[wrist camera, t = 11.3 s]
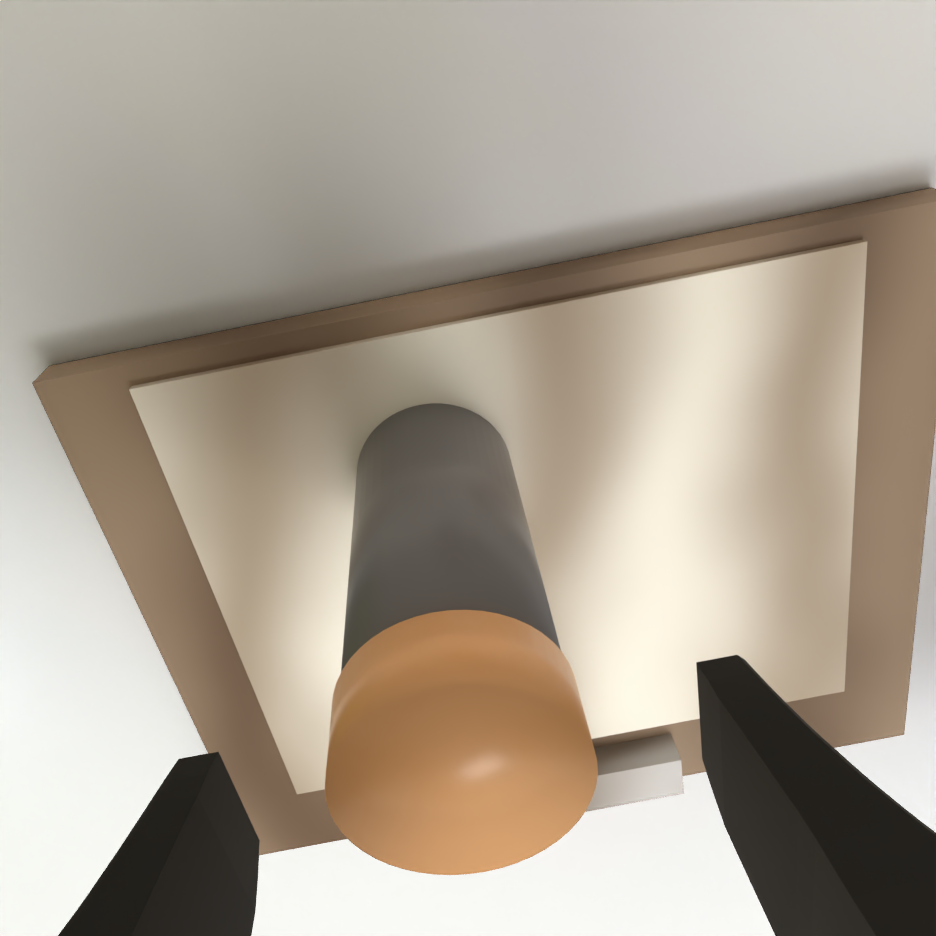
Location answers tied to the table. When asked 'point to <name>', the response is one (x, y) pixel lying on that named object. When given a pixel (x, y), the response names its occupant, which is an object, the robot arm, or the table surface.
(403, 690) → the marker
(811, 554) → the clipboard
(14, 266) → the table surface
